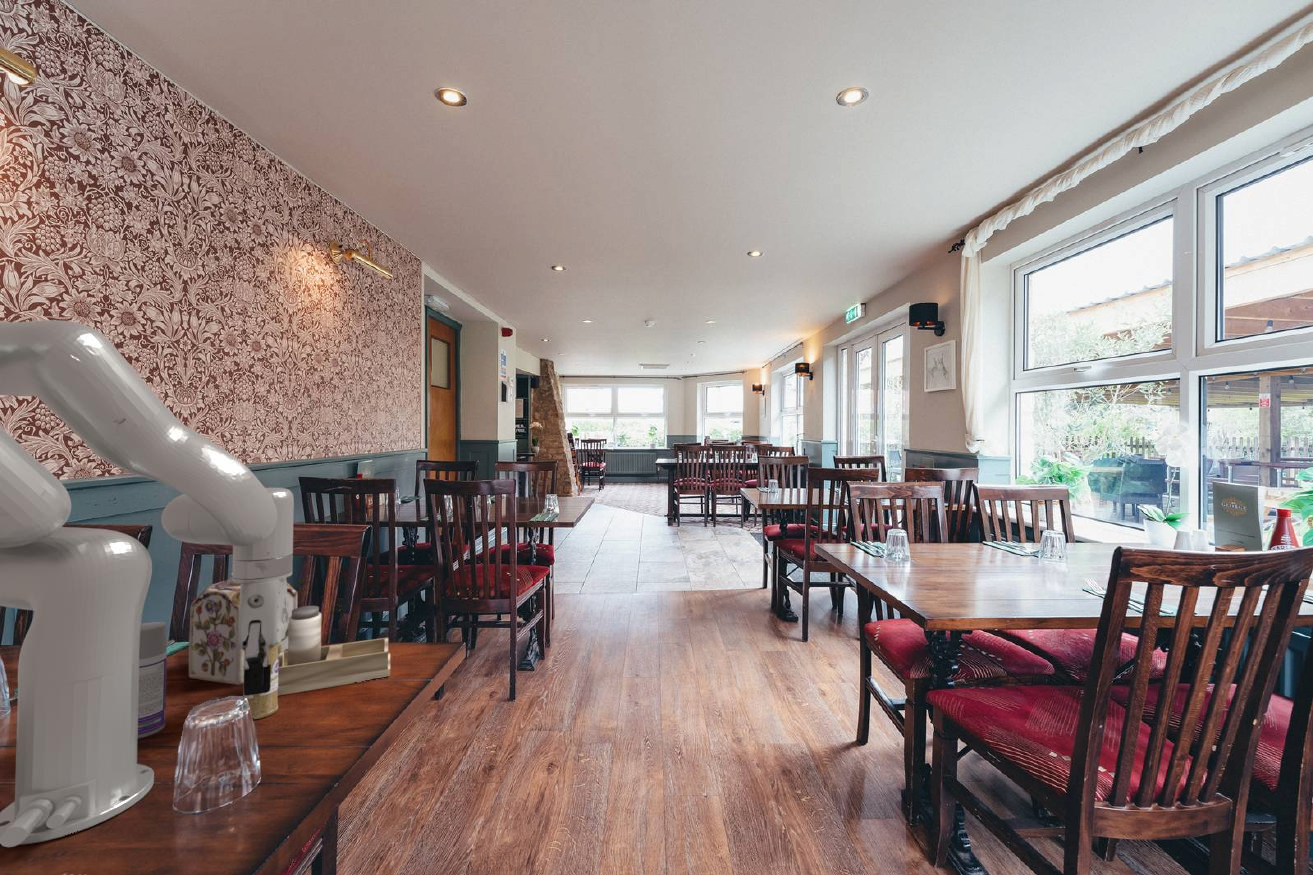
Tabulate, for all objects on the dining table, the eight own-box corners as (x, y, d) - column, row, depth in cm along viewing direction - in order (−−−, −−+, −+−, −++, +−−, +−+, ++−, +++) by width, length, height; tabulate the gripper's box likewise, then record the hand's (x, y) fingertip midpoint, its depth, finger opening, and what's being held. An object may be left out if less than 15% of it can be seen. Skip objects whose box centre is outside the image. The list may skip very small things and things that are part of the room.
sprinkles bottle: (277, 715, 82) (279, 627, 83) (240, 724, 80) (242, 633, 80) (278, 703, 86) (280, 619, 86) (243, 711, 84) (244, 624, 84)
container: (131, 726, 79) (134, 623, 79) (171, 720, 81) (173, 620, 81) (112, 742, 75) (115, 634, 75) (155, 736, 76) (157, 630, 76)
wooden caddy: (390, 677, 96) (391, 606, 96) (268, 697, 88) (269, 619, 88) (390, 660, 104) (391, 594, 104) (277, 677, 96) (278, 606, 96)
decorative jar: (185, 679, 95) (188, 576, 95) (250, 654, 106) (252, 563, 106) (239, 686, 92) (241, 581, 92) (299, 660, 103) (300, 566, 104)
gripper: (282, 577, 77) (280, 705, 77) (300, 555, 92) (298, 662, 92) (217, 583, 74) (214, 716, 74) (246, 559, 89) (244, 670, 89)
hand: (260, 685), depth 83 cm, fingers closed on sprinkles bottle, 4 cm apart
